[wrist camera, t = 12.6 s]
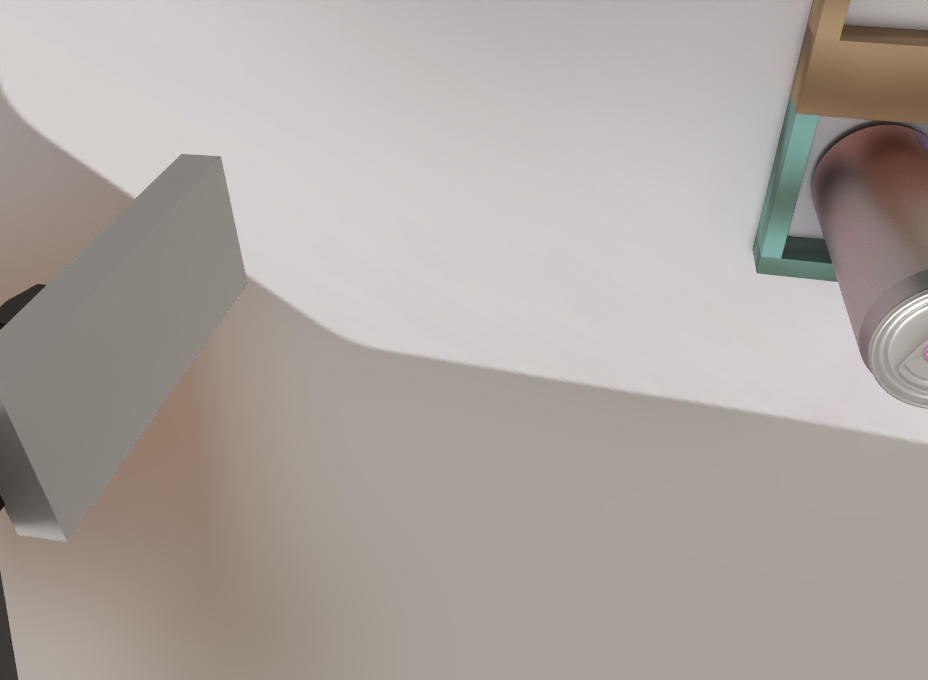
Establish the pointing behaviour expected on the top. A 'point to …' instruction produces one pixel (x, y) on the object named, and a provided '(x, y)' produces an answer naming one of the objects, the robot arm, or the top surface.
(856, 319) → the beverage can
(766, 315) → the top surface
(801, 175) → the holder board
